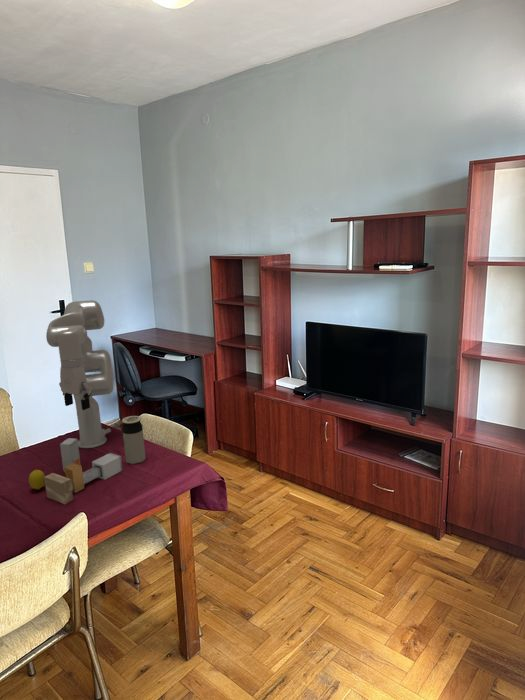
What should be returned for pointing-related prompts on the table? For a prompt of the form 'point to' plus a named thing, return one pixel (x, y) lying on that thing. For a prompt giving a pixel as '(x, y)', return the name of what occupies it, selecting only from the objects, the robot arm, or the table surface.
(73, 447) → the skincare box
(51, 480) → the socket block
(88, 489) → the table surface
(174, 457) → the table surface
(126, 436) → the travel mug
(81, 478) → the multicoloured angled piece
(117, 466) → the sleeve
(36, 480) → the lemon
